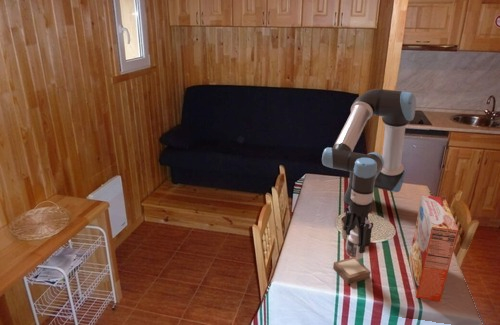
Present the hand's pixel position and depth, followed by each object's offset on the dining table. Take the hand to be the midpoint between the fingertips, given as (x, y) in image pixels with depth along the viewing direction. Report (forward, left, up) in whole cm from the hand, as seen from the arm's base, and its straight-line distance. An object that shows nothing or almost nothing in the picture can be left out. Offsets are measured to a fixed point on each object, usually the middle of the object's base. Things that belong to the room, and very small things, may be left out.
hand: (353, 253), depth 148 cm
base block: (0, 0, -9) cm, 9 cm away
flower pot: (-21, +14, -10) cm, 27 cm away
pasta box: (+13, +24, -10) cm, 29 cm away
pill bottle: (0, 0, -1) cm, 1 cm away
